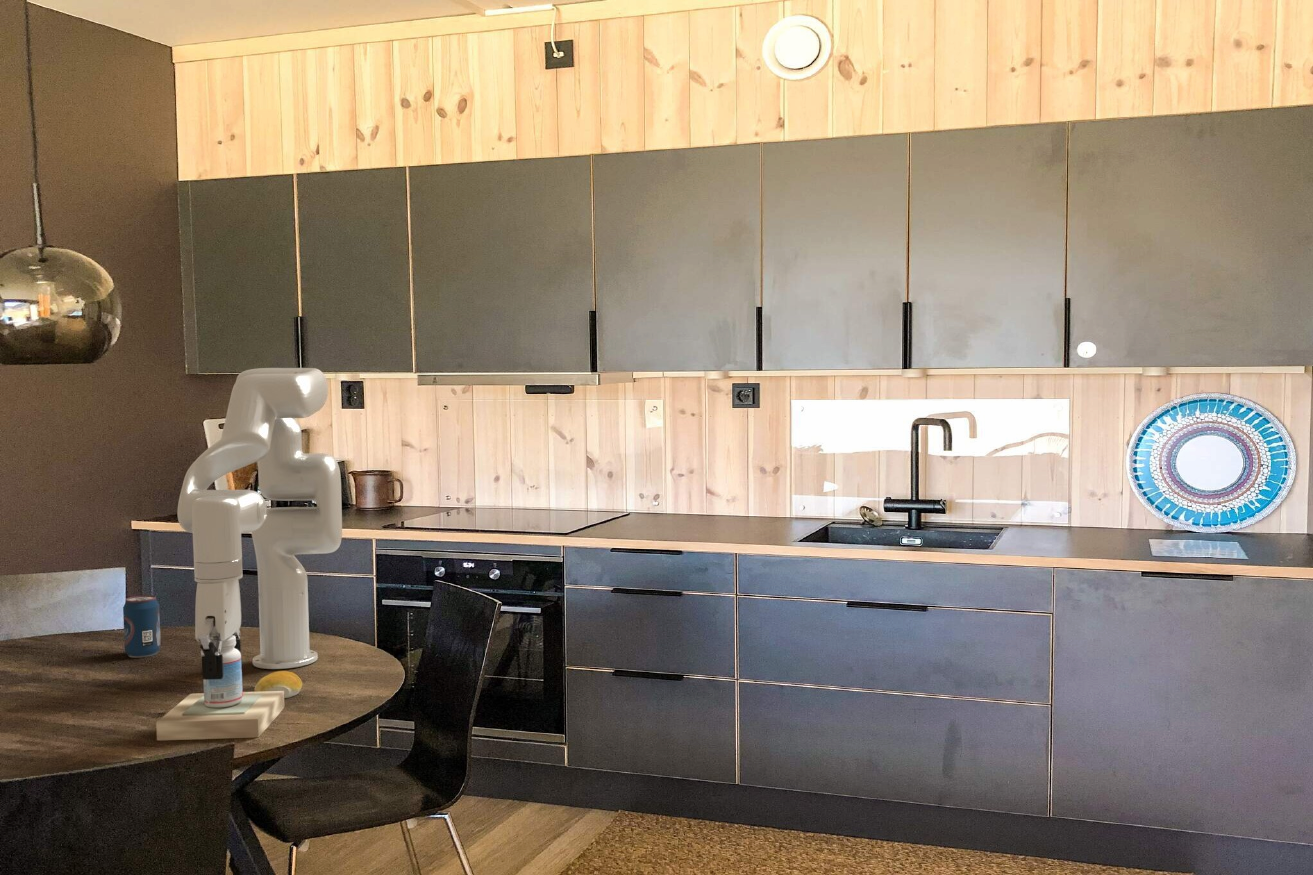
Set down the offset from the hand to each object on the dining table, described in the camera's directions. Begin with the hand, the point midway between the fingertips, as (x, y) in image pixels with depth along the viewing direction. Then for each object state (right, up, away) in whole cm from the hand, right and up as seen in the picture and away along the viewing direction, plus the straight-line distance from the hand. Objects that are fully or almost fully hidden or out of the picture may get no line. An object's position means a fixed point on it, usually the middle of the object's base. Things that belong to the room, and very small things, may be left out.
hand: (222, 670), depth 189 cm
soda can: (-35, -7, +48) cm, 60 cm away
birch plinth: (0, -9, 0) cm, 9 cm away
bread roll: (+3, -8, +18) cm, 20 cm away
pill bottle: (0, -6, 0) cm, 6 cm away
